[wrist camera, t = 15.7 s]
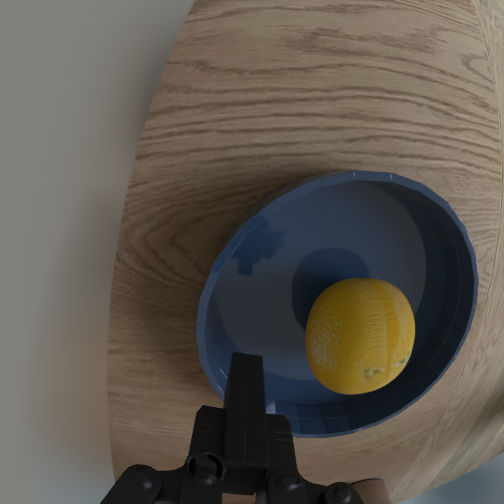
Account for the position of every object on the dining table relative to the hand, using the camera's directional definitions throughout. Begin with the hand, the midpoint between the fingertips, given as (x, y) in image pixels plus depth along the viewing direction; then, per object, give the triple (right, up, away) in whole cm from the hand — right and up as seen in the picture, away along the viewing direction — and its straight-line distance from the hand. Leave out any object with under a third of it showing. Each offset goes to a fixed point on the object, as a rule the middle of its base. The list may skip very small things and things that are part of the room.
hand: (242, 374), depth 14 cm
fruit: (+8, +1, +10) cm, 13 cm away
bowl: (+8, +1, +10) cm, 13 cm away
